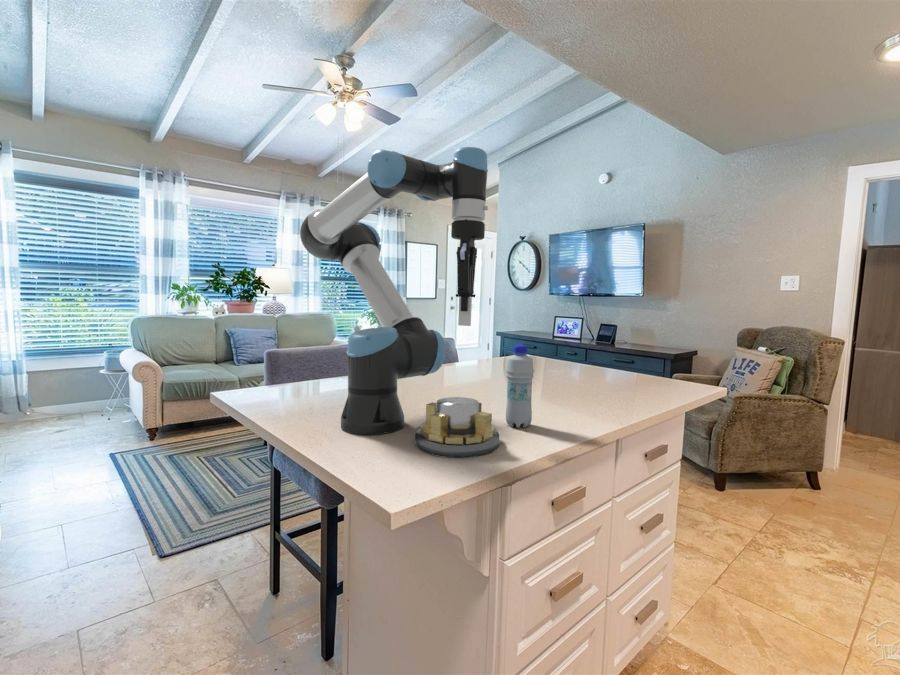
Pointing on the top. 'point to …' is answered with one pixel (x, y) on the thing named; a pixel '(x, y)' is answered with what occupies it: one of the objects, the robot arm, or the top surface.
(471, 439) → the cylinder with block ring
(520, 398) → the bottle
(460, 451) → the cap plate
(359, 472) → the top surface
